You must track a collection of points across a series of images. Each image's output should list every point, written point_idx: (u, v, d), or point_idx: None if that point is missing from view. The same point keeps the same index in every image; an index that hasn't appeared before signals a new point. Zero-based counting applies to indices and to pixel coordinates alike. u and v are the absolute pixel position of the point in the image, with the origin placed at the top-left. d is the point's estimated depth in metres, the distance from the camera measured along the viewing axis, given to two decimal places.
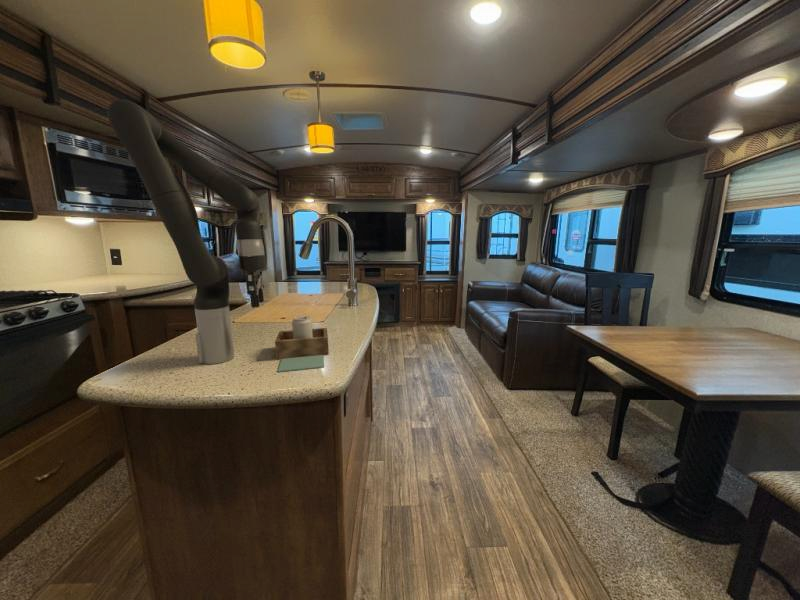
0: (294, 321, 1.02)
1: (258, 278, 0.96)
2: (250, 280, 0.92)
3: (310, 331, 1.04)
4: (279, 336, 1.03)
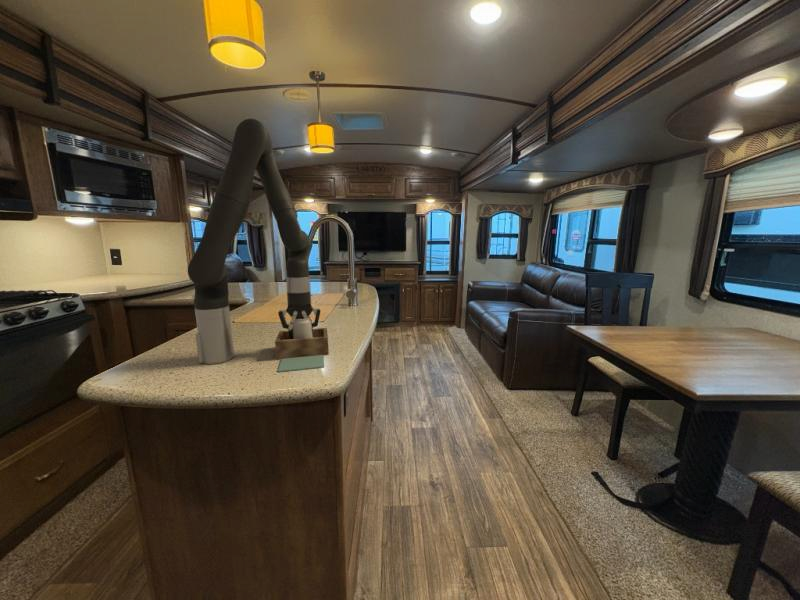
0: (294, 321, 1.02)
1: None
2: None
3: (310, 331, 1.04)
4: (279, 336, 1.03)
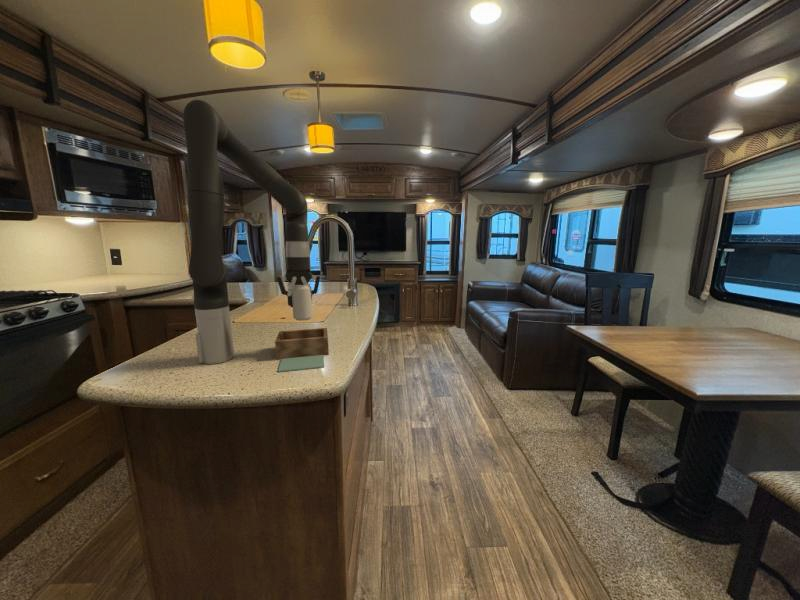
0: None
1: None
2: None
3: (309, 298, 1.02)
4: (279, 336, 1.03)
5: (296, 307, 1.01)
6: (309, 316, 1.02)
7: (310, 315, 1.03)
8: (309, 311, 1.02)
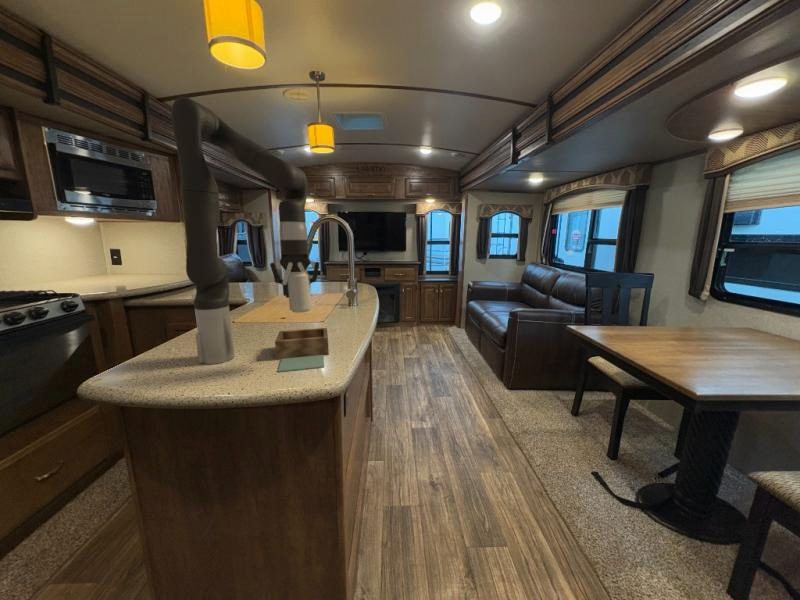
0: None
1: None
2: None
3: (308, 287, 0.90)
4: (279, 336, 1.03)
5: (292, 297, 0.88)
6: (308, 307, 0.90)
7: (309, 306, 0.91)
8: (308, 302, 0.90)
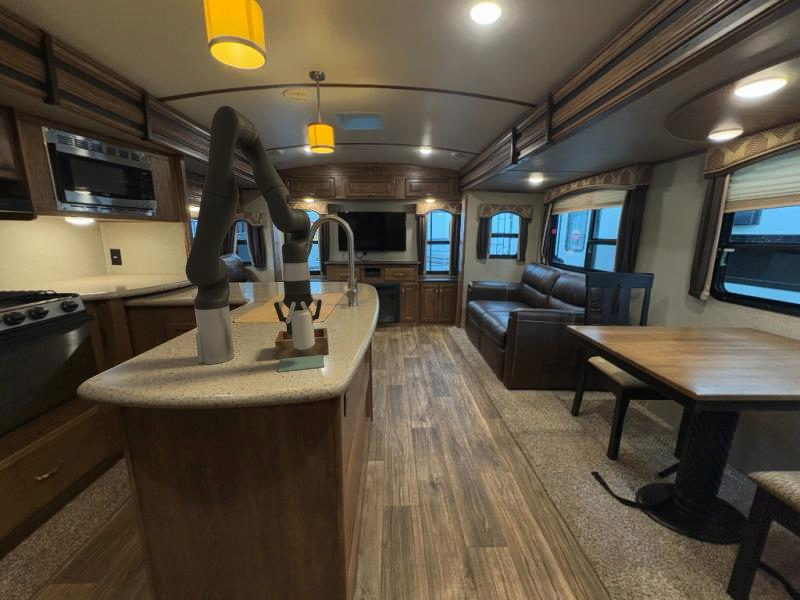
0: None
1: None
2: None
3: (311, 324, 0.92)
4: (279, 336, 1.03)
5: (296, 335, 0.91)
6: (311, 344, 0.93)
7: (312, 343, 0.93)
8: (311, 339, 0.92)
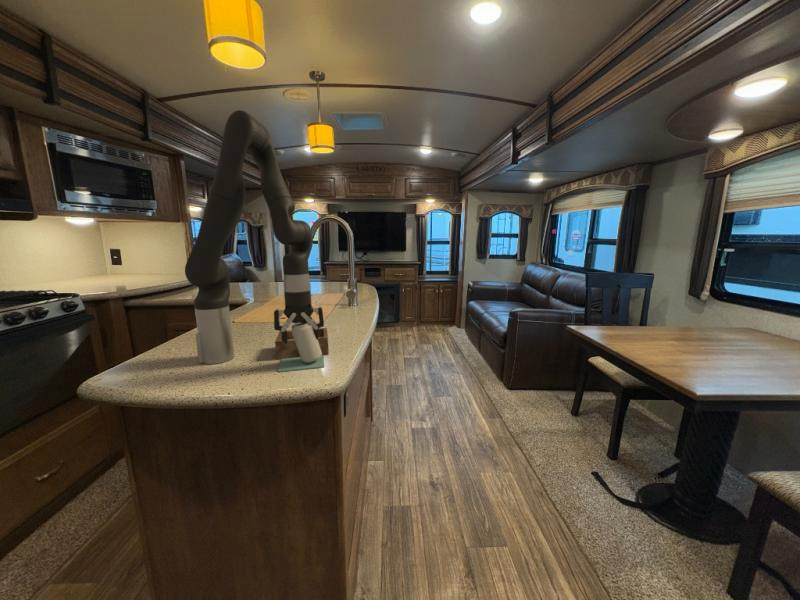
0: (294, 330, 0.91)
1: None
2: None
3: (314, 336, 0.93)
4: (279, 336, 1.03)
5: (302, 350, 0.92)
6: (319, 355, 0.94)
7: (319, 353, 0.94)
8: (317, 350, 0.94)
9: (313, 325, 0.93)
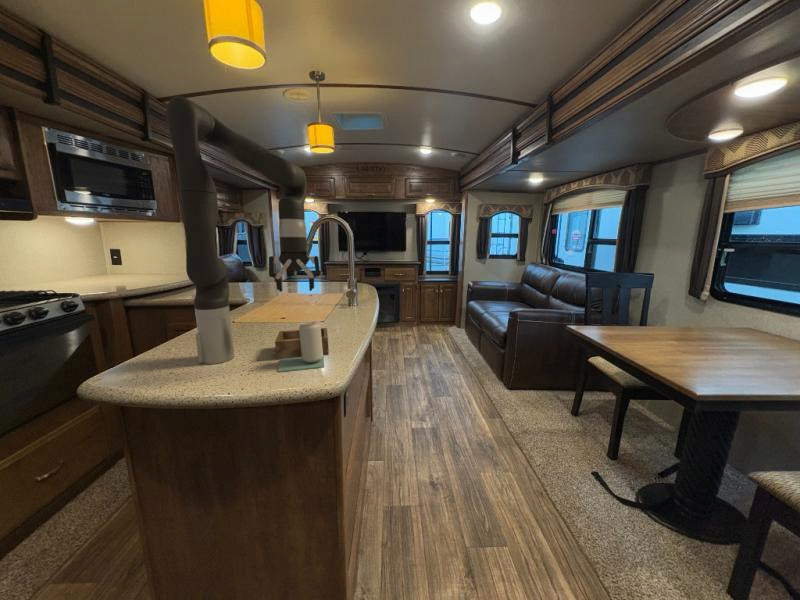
0: (302, 327, 0.92)
1: None
2: None
3: (320, 337, 0.94)
4: (279, 336, 1.03)
5: (306, 348, 0.92)
6: (320, 357, 0.94)
7: (321, 355, 0.95)
8: (320, 351, 0.94)
9: (309, 273, 0.91)
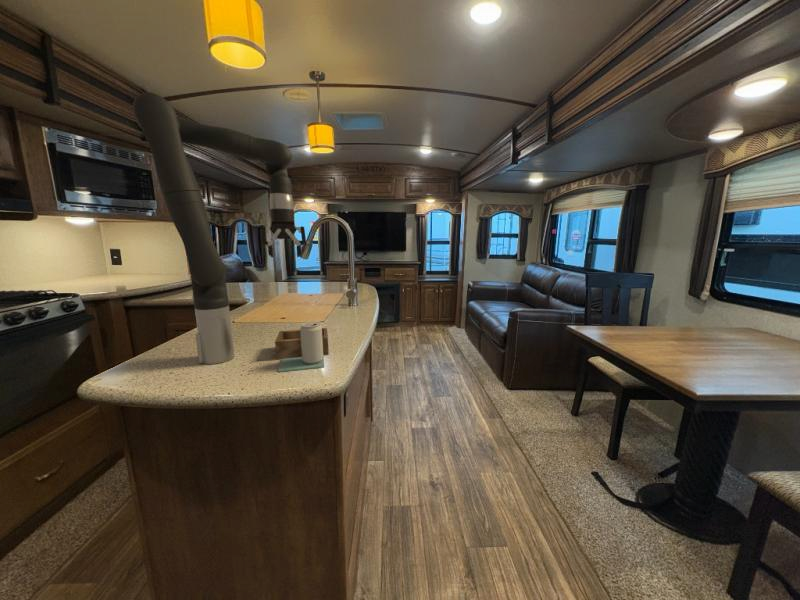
0: (303, 328, 0.92)
1: None
2: (304, 231, 1.07)
3: (321, 339, 0.94)
4: (279, 336, 1.03)
5: (306, 350, 0.92)
6: (320, 358, 0.94)
7: (321, 357, 0.95)
8: (320, 353, 0.94)
9: (296, 241, 1.06)
